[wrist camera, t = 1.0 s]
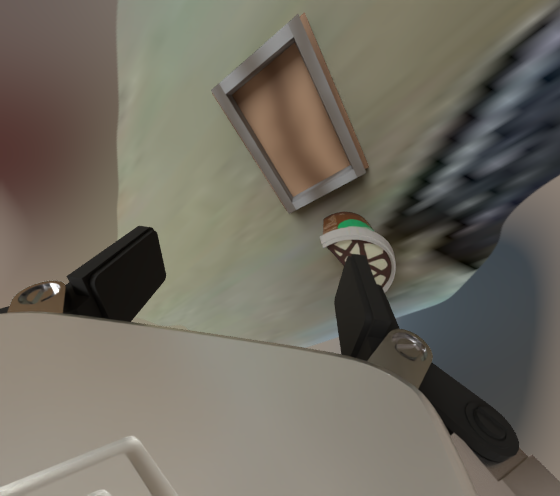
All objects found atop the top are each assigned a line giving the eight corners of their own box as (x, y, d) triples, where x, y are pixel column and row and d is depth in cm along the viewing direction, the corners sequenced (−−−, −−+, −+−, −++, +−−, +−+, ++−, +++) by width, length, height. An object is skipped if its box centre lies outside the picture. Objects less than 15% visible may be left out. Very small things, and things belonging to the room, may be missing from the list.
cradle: (304, 16, 25) (303, 3, 22) (367, 165, 32) (373, 171, 29) (215, 93, 30) (204, 92, 26) (287, 208, 37) (285, 217, 34)
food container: (394, 243, 38) (418, 282, 30) (361, 262, 41) (374, 303, 32) (351, 187, 34) (365, 215, 26) (317, 212, 37) (320, 244, 28)
